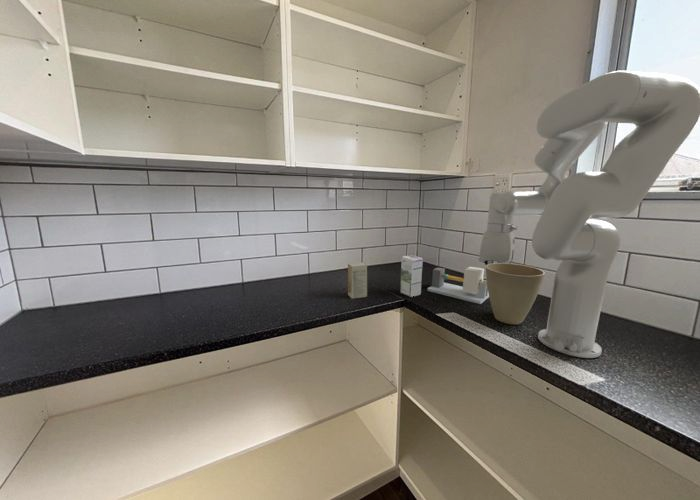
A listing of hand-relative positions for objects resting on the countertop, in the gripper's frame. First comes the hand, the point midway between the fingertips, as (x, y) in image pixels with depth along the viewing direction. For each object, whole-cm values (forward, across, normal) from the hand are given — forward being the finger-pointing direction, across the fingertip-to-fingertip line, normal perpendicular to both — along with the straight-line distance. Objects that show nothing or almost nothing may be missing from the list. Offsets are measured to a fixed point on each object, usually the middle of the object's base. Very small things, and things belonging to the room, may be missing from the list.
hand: (493, 280), depth 97 cm
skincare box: (+8, +37, +30) cm, 49 cm away
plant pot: (+8, -8, +13) cm, 17 cm away
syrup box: (+8, +24, +14) cm, 29 cm away
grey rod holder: (+8, +12, 0) cm, 14 cm away
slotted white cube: (+6, +7, 0) cm, 9 cm away
